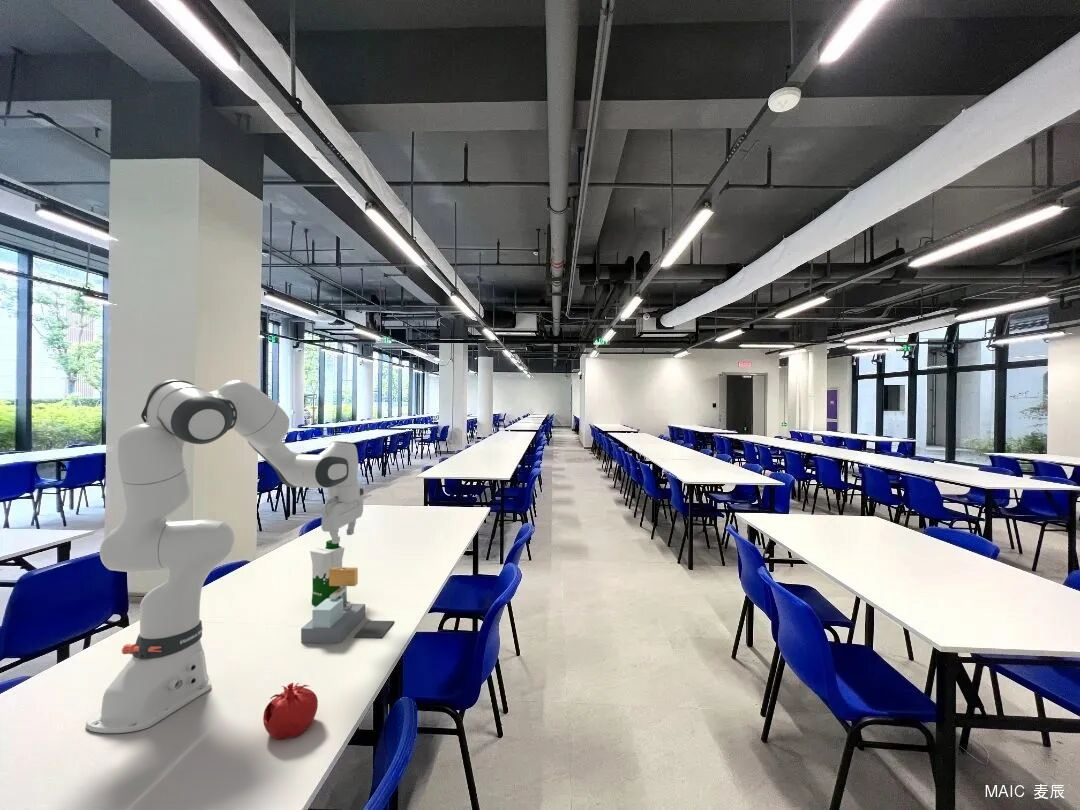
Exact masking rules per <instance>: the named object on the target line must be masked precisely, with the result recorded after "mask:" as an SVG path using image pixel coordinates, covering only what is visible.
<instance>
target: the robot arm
mask: <svg viewBox="0 0 1080 810" xmlns="http://www.w3.org/2000/svg"><path fill="white" fill-rule="evenodd" d="M150 390H151V391H150V392H149V394H148V396H147V399H146V402H145V405H144V408H143V409H142V412H141V414H140V417H141V419H142V422H143V423H140V424H136V425H133V426H131V427H129V428H127V429H126V430H124V431H123V432H122V433H121V434H120V436H119V438H118V442H117V460H118V462H117V463H118V469H119V474H120V479H121V482H122V487H123V492H124V497H125V503H126V504H125V505H126V512H125V514H124V515H125V516H124V519H123V520H122V522H121V523H120V524H119V525H118V526H117V527H115V528H113V529H112V530H111V531H110V532H109V533H107V535H106V536H105V537H104V539H103V541H102V542H101V545H100V548H99V557H100V560H101V563H102V564H103V565H104V567H105V568H106V569H108V570H109V571H116V572H125V573H143V572H155V571H156V572H157V571H168V579H167V581H165V582H162V584H160V585H158V586H155V587H154V588H153V589H151V590H150V591H148V592H147V593H145V595H144V597H142V599H141V601H140V605H139V634H138V635H137V638H136V640H135V643H134V644H131V643H126V644H124V645H123V647H122V648H121V654H122V655H132V657H131V658H130V659H129V661H128V662H127V663H126V664H125V665H124V667H123V668H122V669H121V670H120V672H118V674H117V676H116V677H115V678H114V679H113V681H112V682H111V683H110V684H109V686H108V687H107V688H106V689H105V691H104V692H103V693H104V694H103V697H102V703H101V708H100V710H98V711H97V712H96V713H95V714H93V715H92V716H91V717H90V718H89V719H87V721H85V728H86V729H87V730H88V729H89V730H88V731H90V732H95V733H101V734H124V733H125V734H126V733H132V732H137V731H141V730H145V729H148V728H150V727H152V726H154V725H155V724H157V723H158V722H160V721H162V720H163V719H165V718H166V717H168V716H170V715H171V714H173V713H174V712H176V711H178V710H179V709H181V708H182V707H184V706H186V705H187V704H188V703H191V702H192V701H193V700H195V699H197V698H198V697H200V696H202V695H203V694H204V693H207V691H209V690H211V689H212V683H211V681H210V679H209V675H208V670H207V663H206V662H207V661H206V656H205V651H204V648H203V646H202V643H201V638H202V636H203V623H202V620H201V619H200V617H201V616H200V614H201V612H200V610H201V598H202V597H201V596H202V590H203V587H204V583H205V581H206V579H208V577H209V575H210V573H211V572H212V571H213V570H214V569H215V568H216V567H217V566H218V565H219V564H221V563H222V562H223V561H224V560H225V559H227V558H228V556H230V554H231V552H232V551H233V548H234V546H235V534H234V531H233V528H232V527H231V526H230V525H229V523H227V522H226V521H221V520H214V519H203V518H202V519H189V520H188V519H187V520H170V519H169V518H168V516H170V515H172V514H175V513H176V512H177V511H179V510H180V509H182V508H183V507H184V506H185V505H186V504H187V503H188V501H189V499H190V495H191V491H190V485H189V481H188V480H189V479H188V475H187V470H186V465H185V461H184V457H183V450H184V449H183V448H184V445H185V442H186V443H190V444H194V445H195V444H196V445H206V444H210V443H213V442H215V441H217V440H218V439H220V438H221V437H223V436H224V435H225V434H226V433H227V432H228V431H230V430H231V429H232V430H234V431H235V432H236V433H237V434H238V435H240V436H241V437H242V438H243V439H245V440H246V441H247V442H248V444H249V445H250V446H251V447H252V449H253V450H254V451H255V452H256V453H257V454H258V455H259V456H261V458H263V459H264V460H265V461H266V462H267V463H268V464H269V465H270V466H271V467H272V468H273V469H274V471H275V472H276V474H277V476H278V479H279V480H280V481H281V483H282V484H283V485H285V486H286V487H289V488H312V489H314V488H315V489H327V491H326V492H327V493H326V494H327V502H326V503H325V505H324V506H323V509H322V512H321V513H322V514H321V530H322V532H326V533H329V535H330V537H331V540H332V543H333V544H337V543H339V544H340V542H341V536H339V529H341V528H343V527H345V526H347V525H348V526H347V529H346V535H347V536H353V535H354V534H355V527H356V524H357V519H360V518H361V517H362V516H363V512H364V495H365V488H364V487H361V486H359V480H358V471H359V456H358V449H357V446H356V445H355V444H354V443H353V442H348V441H339V440H335V441H331V442H330V443H329V444H328V447H326V449H324V450H323V451H321V452H320V453H318V454H309V453H308V454H307V453H298V452H295V451H292V450H290V449H289V448H288V447H287V445H285V444H284V443H283V442H282V441H283V439H284V438H285V437H286V435H287V434H288V432H289V429H290V418H289V416H288V415H287V413H286V412H285V411H284V409H283V408H282V407H281V406H280V405H279V404H277V402H275V400H273V399H272V398H271V397H269V396H268V395H267V394H265V393H264V392H263V391H262V390H260V389H259V388H256V386H254V385H252V384H250V383H249V382H247V381H244V380H239V379H236V380H235V379H234V380H230V381H227V382H225V383H223V384H222V385H221V386H219V387H218V388H217V389H216V390H213V391H207V390H205V389H203V388H201V387H200V386H197V385H195V384H193V383H192V382H189V381H188V380H187V381H186V380H181V379H180V380H179V379H168V380H165V381H162V382H160V383H158V384H156V385H155V386H154V387H153V388H152V389H150Z"/></svg>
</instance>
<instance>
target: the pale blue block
mask: <svg viewBox="0 0 1080 810" xmlns="http://www.w3.org/2000/svg"><path fill="white" fill-rule="evenodd" d="M342 616H343V599H329V598H327V599H325V600H324V601H323V602H322V603H320V604H319V605H318V606H317V605H316V606H315V607H314V608H313V609H312V619H313V628H331V627H332V626H333V625H334V624H335V623H336V622H337V621H338V620H339V619H340V618H341V617H342ZM312 619H311V620H312Z"/></svg>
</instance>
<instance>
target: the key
mask: <svg viewBox="0 0 1080 810" xmlns="http://www.w3.org/2000/svg"><path fill="white" fill-rule="evenodd" d="M358 570H359V568H358V567H345V566H344V567H343V566H342V567H332V568H331V569H329V586H340V588H339V589H337V590H336V591H335V592H334V593H333V594H331V595H330V596H329V599H337V598H338V597H339V596H340V599H343V608H344V607H346V606H347V603H348V595H347V593H348V590H347V589H348V587H356V586H357V585H358V584H359V583H358V579H359V578H358V577H359V576H358V575H359V574H358V572H359V571H358Z"/></svg>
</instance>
